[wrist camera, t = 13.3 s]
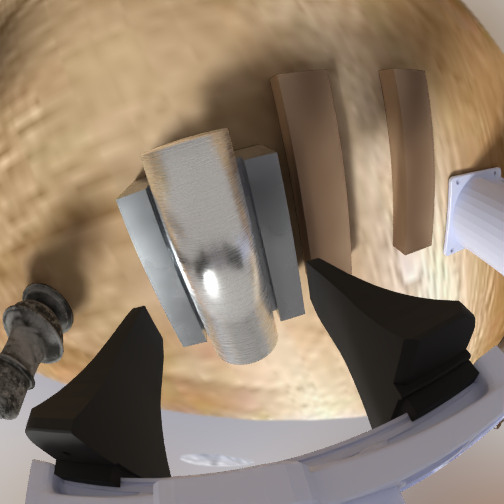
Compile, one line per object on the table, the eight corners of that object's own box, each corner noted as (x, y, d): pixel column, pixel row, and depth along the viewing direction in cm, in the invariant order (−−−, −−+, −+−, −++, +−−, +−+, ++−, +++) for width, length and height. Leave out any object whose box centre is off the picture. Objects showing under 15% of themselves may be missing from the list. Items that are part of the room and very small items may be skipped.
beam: (409, 71, 15) (424, 70, 14) (418, 236, 22) (431, 245, 20) (269, 78, 15) (277, 74, 13) (306, 273, 21) (314, 286, 20)
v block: (259, 144, 16) (277, 152, 13) (287, 279, 21) (304, 313, 17) (134, 180, 16) (115, 199, 12) (184, 307, 21) (183, 347, 17)
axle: (149, 149, 13) (129, 160, 10) (225, 127, 13) (232, 129, 10) (213, 326, 19) (217, 371, 15) (270, 311, 19) (284, 353, 15)
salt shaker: (11, 281, 17) (-58, 383, 6) (62, 278, 18) (-6, 404, 7) (35, 334, 20) (-8, 438, 9) (85, 336, 21) (49, 457, 10)
